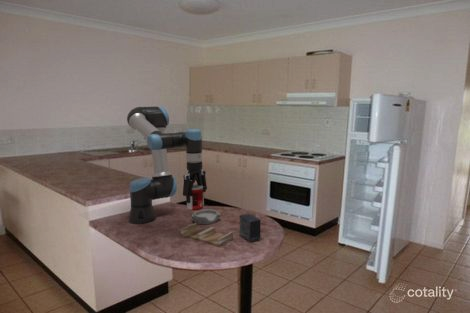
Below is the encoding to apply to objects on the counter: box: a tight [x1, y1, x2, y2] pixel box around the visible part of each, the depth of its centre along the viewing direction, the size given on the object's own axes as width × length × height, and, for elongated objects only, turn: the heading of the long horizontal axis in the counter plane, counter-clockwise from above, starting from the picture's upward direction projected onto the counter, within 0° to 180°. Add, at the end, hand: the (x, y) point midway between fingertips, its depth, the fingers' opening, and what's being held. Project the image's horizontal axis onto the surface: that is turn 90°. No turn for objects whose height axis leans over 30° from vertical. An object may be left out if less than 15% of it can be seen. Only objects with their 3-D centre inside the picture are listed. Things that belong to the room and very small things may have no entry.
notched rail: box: [180, 222, 234, 248], centre depth 162 cm, size 24×11×4 cm, turn 56°
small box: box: [239, 213, 261, 243], centre depth 161 cm, size 11×6×10 cm, turn 28°
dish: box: [191, 208, 221, 225], centre depth 186 cm, size 14×14×5 cm
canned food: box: [188, 184, 204, 211], centre depth 163 cm, size 8×8×11 cm
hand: (195, 206), depth 163 cm, fingers closed on canned food, 8 cm apart
